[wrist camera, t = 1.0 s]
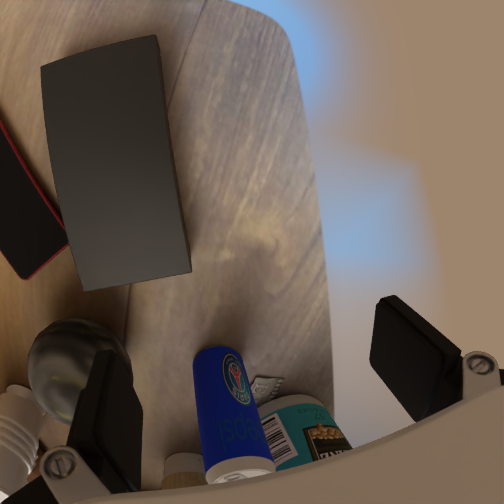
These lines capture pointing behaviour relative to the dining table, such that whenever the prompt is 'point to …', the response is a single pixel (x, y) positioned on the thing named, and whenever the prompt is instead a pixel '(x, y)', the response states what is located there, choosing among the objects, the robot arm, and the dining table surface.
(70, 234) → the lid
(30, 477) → the coconut
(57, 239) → the smartphone
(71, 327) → the decorative stone
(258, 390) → the snack bar
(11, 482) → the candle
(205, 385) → the beverage can
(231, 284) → the dining table surface
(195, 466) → the coffee cup
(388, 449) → the robot arm
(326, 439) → the food can
